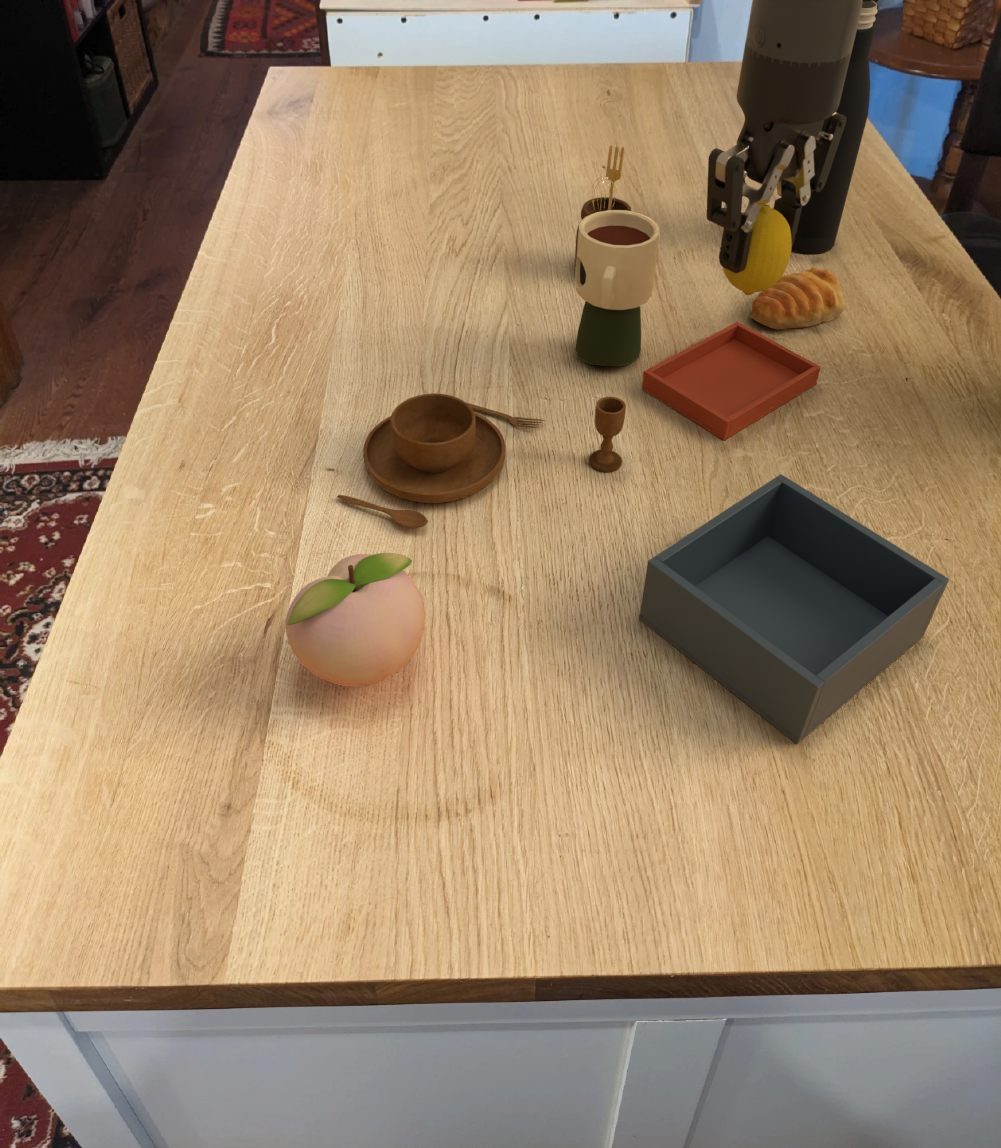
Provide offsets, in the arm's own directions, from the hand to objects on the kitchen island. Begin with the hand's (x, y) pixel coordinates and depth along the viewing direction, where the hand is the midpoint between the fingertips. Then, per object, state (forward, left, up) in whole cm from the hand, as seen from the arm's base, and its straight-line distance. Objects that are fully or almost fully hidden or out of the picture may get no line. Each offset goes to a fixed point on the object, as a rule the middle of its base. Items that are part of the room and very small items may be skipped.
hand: (756, 256), depth 85 cm
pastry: (-15, -4, -13) cm, 21 cm away
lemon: (0, 0, -4) cm, 4 cm away
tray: (0, 0, -13) cm, 13 cm away
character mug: (+5, -11, -13) cm, 18 cm away
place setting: (+26, -5, -13) cm, 30 cm away
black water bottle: (-28, -13, -13) cm, 34 cm away
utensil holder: (-6, -23, -13) cm, 27 cm away
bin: (+20, +22, -13) cm, 32 cm away
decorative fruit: (+45, +6, -13) cm, 47 cm away
